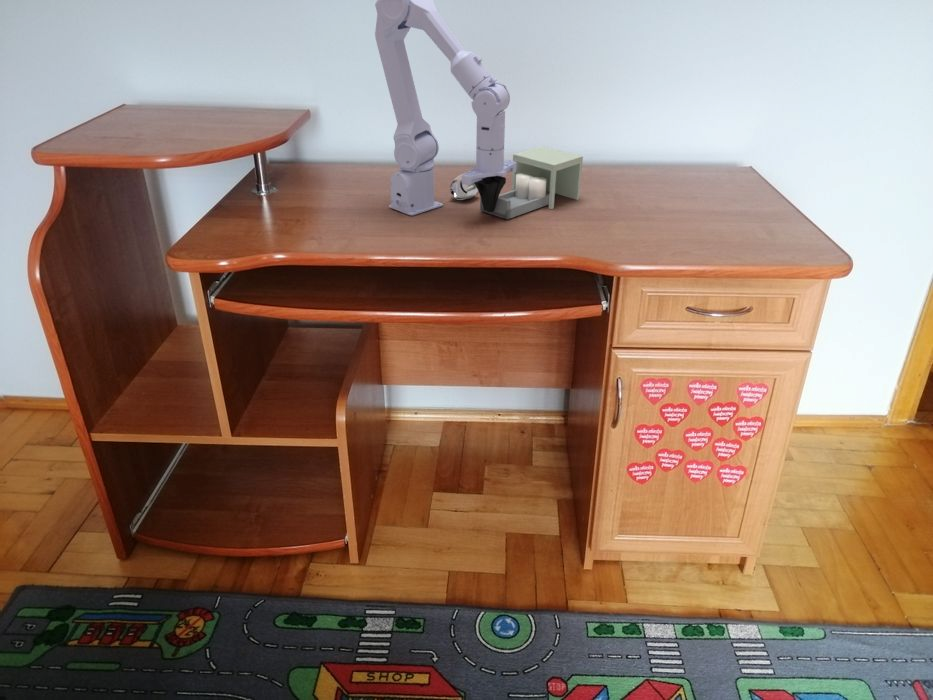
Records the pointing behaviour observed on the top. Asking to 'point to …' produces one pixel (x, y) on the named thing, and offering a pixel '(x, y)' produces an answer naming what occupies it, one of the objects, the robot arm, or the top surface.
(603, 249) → the top surface
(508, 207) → the tray
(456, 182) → the wineglass
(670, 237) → the top surface
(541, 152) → the block
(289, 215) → the top surface
